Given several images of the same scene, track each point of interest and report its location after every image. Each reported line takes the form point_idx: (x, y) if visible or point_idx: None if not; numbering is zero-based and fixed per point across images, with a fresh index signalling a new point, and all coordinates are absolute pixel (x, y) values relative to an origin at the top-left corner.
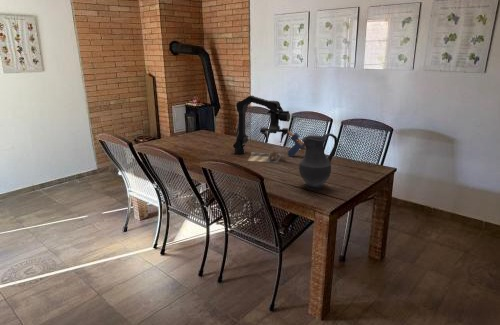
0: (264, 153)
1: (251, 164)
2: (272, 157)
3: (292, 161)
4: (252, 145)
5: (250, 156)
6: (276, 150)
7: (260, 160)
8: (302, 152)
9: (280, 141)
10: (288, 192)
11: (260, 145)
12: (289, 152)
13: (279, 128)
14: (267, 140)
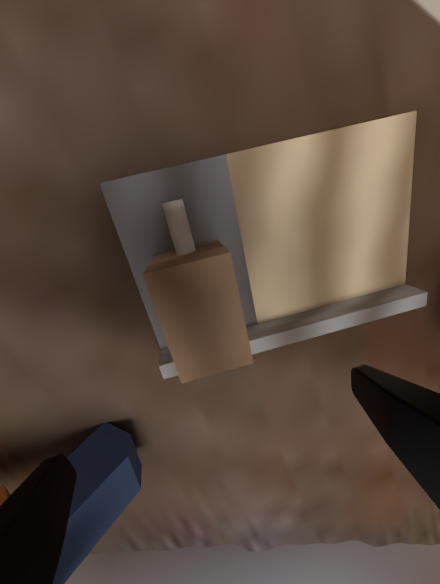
0: (308, 331)
1: (350, 76)
2: (173, 207)
3: (38, 336)
4: (417, 490)
5: (405, 259)
6: (193, 377)
7: (293, 177)
8: (1, 497)
9: (32, 497)
10: None
11: (375, 509)
12: (114, 453)
13: None
14: (398, 395)
